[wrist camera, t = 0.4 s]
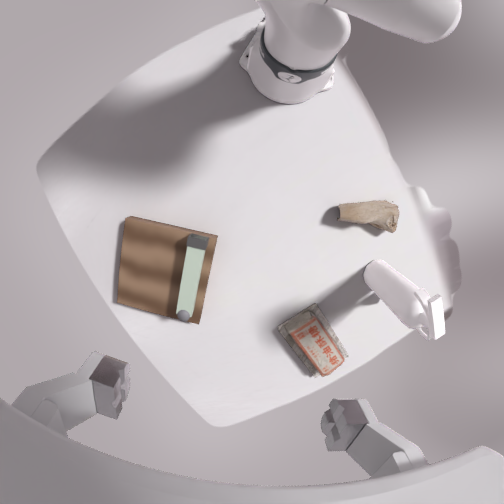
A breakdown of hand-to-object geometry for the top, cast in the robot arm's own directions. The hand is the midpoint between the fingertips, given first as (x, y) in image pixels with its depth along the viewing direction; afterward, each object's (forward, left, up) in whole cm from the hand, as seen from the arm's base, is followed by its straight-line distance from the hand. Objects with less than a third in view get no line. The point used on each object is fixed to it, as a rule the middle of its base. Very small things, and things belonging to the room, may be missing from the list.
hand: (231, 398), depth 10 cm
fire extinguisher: (+4, +32, -45) cm, 55 cm away
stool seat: (+12, -12, -45) cm, 48 cm away
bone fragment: (-8, +24, -45) cm, 52 cm away
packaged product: (+22, +23, -46) cm, 56 cm away
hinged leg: (+12, -6, -42) cm, 44 cm away
